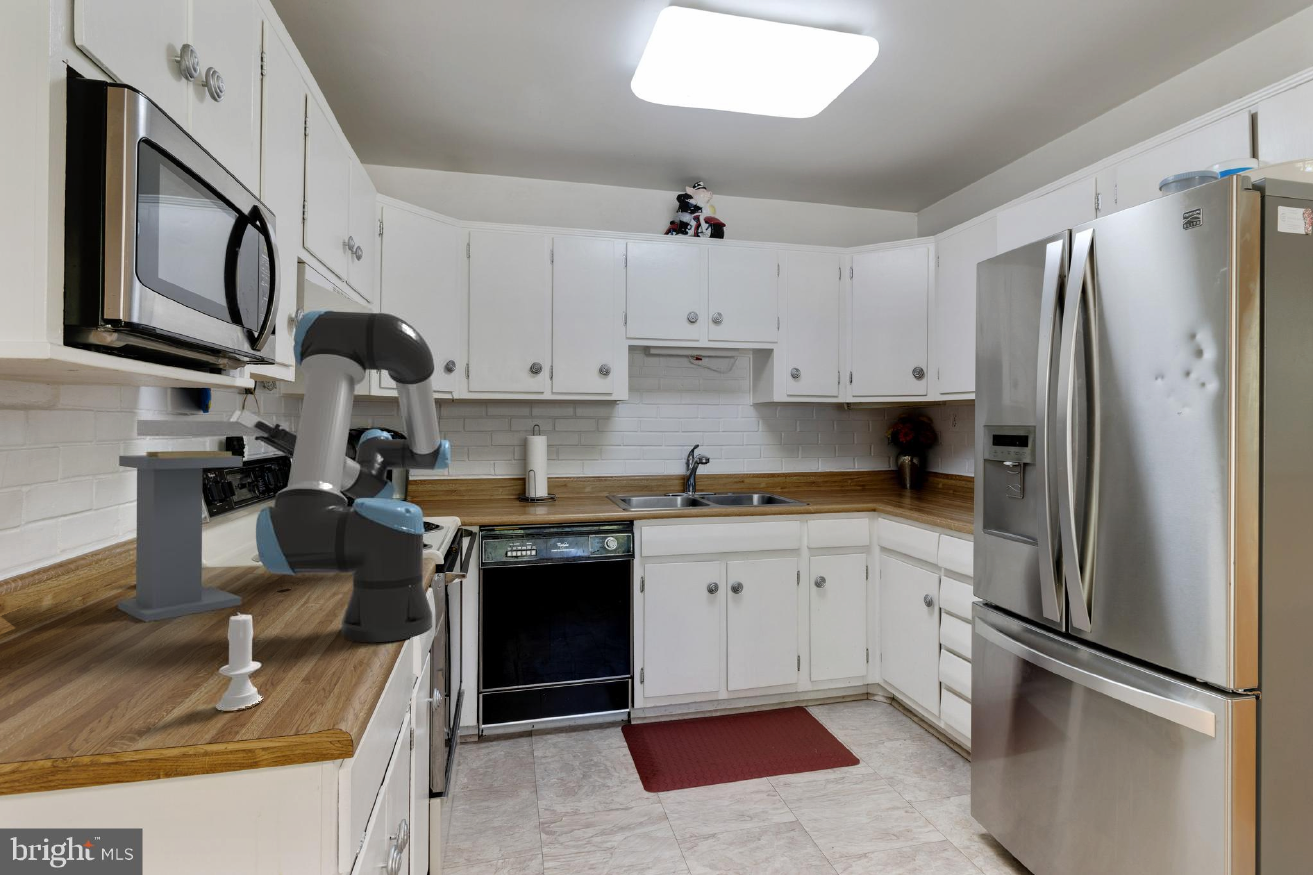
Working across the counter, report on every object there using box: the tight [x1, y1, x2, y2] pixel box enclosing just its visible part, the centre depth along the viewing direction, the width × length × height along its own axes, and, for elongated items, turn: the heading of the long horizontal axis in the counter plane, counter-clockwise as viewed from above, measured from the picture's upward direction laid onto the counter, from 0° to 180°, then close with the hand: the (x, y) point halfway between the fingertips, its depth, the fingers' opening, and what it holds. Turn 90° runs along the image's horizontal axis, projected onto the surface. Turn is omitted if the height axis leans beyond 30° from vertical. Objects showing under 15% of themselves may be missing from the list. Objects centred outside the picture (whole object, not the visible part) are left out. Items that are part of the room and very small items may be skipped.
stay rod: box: [136, 419, 290, 437], centre depth 134 cm, size 26×3×3 cm, turn 144°
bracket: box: [145, 450, 233, 458], centre depth 130 cm, size 12×7×1 cm, turn 144°
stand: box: [117, 454, 243, 623], centre depth 133 cm, size 16×15×30 cm
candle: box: [215, 612, 264, 711], centre depth 87 cm, size 5×5×12 cm
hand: (236, 415), depth 137 cm, fingers closed on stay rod, 3 cm apart
